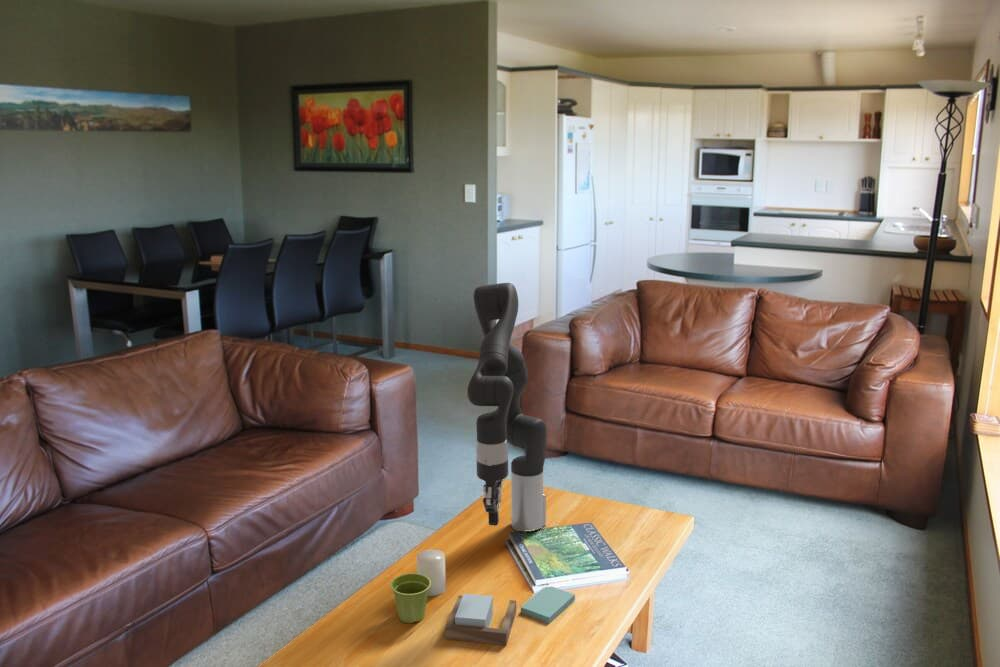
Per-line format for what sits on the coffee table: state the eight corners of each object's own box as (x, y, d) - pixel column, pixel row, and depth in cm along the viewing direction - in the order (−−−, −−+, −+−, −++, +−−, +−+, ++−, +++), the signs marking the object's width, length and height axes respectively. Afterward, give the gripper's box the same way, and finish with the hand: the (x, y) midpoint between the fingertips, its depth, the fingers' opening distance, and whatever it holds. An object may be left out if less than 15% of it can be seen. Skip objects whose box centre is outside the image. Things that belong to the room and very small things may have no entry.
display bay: (458, 606, 200) (458, 595, 199) (516, 612, 198) (516, 600, 197) (445, 639, 187) (445, 627, 186) (506, 645, 185) (506, 633, 184)
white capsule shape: (436, 578, 213) (435, 546, 211) (451, 590, 207) (450, 557, 205) (412, 587, 209) (411, 554, 207) (426, 599, 203) (425, 566, 201)
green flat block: (546, 592, 207) (546, 584, 207) (574, 601, 203) (575, 594, 202) (520, 614, 198) (520, 606, 197) (549, 625, 193) (549, 617, 193)
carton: (464, 612, 198) (463, 593, 197) (492, 614, 197) (492, 595, 196) (455, 636, 188) (454, 617, 187) (485, 639, 187) (485, 619, 186)
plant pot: (438, 609, 199) (437, 576, 197) (421, 631, 190) (420, 597, 188) (402, 602, 202) (401, 570, 200) (385, 623, 193) (383, 590, 191)
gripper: (481, 445, 203) (483, 510, 207) (470, 467, 191) (473, 536, 195) (512, 447, 202) (513, 512, 206) (503, 469, 189) (504, 538, 194)
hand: (493, 523), depth 200 cm, fingers closed
